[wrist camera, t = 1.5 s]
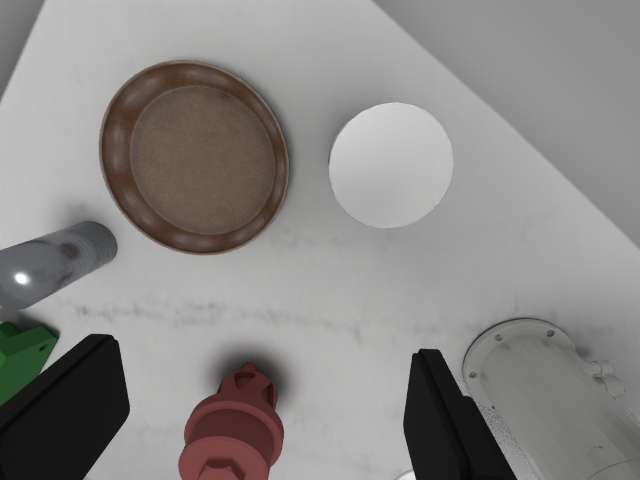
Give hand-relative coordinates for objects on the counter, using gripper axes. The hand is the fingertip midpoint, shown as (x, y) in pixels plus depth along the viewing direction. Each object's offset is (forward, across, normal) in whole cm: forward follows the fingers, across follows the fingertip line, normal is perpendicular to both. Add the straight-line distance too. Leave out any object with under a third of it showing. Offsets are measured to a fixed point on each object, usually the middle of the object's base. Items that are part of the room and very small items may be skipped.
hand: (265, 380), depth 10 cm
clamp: (+25, +36, +18) cm, 47 cm away
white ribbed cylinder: (+25, -5, -6) cm, 26 cm away
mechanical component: (+25, +7, +22) cm, 34 cm away
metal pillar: (+25, +24, +4) cm, 35 cm away
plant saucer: (+25, +11, -5) cm, 28 cm away
